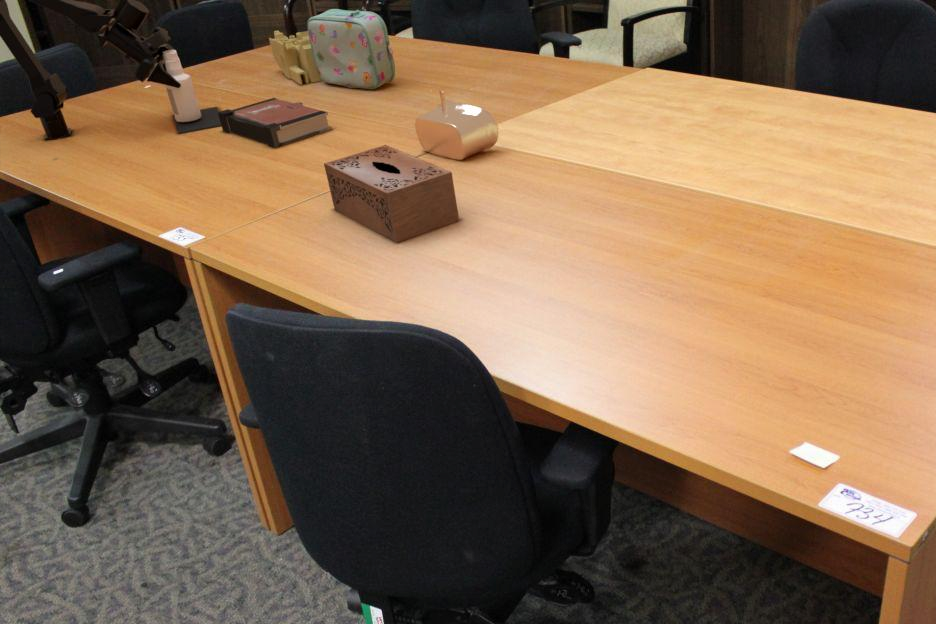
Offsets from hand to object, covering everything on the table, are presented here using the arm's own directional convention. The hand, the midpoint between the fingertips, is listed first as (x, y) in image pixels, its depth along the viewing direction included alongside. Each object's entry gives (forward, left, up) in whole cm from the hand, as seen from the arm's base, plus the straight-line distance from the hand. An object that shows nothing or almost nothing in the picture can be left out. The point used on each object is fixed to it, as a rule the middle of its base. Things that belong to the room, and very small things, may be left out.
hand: (183, 83), depth 261 cm
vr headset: (+70, +55, -11) cm, 89 cm away
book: (+24, +19, -11) cm, 32 cm away
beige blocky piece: (-31, +40, -11) cm, 52 cm away
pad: (0, +1, -10) cm, 10 cm away
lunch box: (-7, +48, -11) cm, 50 cm away
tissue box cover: (+101, +31, -11) cm, 106 cm away
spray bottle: (-1, -1, -10) cm, 10 cm away
